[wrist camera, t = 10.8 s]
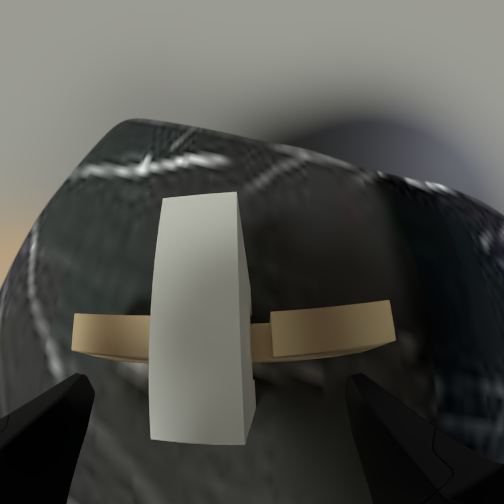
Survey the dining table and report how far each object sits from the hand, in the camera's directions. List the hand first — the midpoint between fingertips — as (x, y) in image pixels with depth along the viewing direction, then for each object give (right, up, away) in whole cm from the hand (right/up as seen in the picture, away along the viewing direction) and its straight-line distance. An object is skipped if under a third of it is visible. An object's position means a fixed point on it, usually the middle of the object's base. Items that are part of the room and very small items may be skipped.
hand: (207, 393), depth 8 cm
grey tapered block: (0, -1, +9) cm, 9 cm away
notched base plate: (0, -1, +8) cm, 9 cm away
